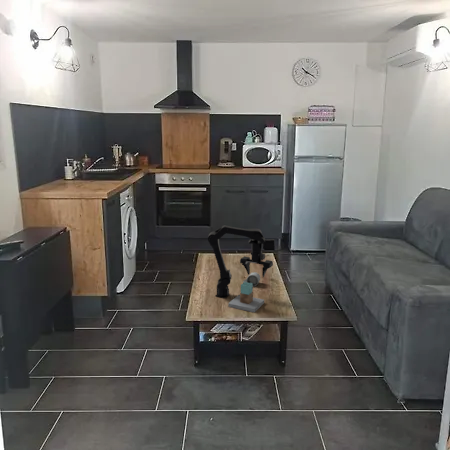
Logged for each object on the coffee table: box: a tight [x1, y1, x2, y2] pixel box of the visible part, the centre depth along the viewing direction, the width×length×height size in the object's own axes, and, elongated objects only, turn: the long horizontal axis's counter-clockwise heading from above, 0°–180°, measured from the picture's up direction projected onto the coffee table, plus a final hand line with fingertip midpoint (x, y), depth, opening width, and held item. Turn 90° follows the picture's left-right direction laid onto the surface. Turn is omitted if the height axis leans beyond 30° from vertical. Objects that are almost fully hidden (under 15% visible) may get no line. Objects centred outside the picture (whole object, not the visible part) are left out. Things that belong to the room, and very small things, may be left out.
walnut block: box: [239, 291, 254, 304], centre depth 249 cm, size 6×6×6 cm
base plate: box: [227, 294, 265, 313], centre depth 250 cm, size 16×14×2 cm
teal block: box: [240, 282, 254, 295], centre depth 248 cm, size 5×5×5 cm
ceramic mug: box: [242, 271, 261, 287], centre depth 279 cm, size 11×8×8 cm
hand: (256, 275), depth 258 cm, fingers open, 9 cm apart
